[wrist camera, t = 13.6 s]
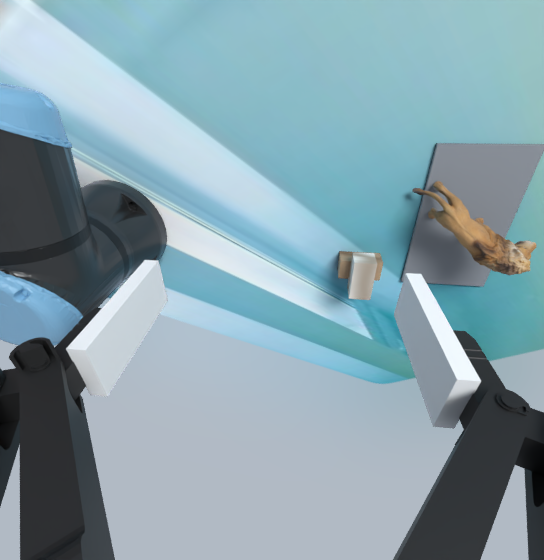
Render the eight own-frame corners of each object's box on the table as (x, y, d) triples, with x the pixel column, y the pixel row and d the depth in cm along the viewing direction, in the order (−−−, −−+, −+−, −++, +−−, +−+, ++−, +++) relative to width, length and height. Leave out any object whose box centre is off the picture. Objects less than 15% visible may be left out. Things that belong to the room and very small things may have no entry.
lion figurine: (513, 225, 41) (556, 258, 34) (481, 255, 44) (514, 291, 37) (425, 170, 39) (450, 193, 32) (397, 206, 42) (414, 234, 35)
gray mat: (400, 279, 49) (401, 281, 48) (436, 143, 38) (437, 144, 37) (482, 284, 47) (483, 286, 47) (543, 144, 36) (546, 145, 36)
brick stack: (336, 275, 50) (338, 297, 45) (340, 242, 47) (343, 262, 42) (374, 277, 49) (380, 300, 44) (381, 244, 46) (388, 264, 41)
